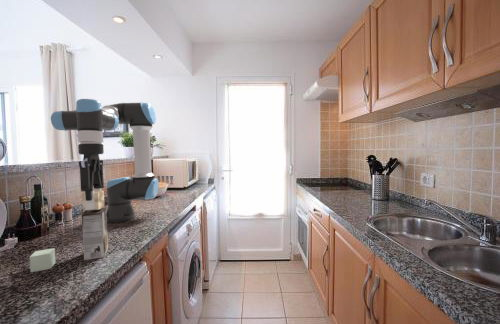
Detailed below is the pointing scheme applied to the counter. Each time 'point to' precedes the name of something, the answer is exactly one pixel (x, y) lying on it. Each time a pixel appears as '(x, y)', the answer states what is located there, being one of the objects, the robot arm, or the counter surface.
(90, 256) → the coffee box
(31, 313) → the counter surface
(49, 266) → the sage block
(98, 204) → the maple block
